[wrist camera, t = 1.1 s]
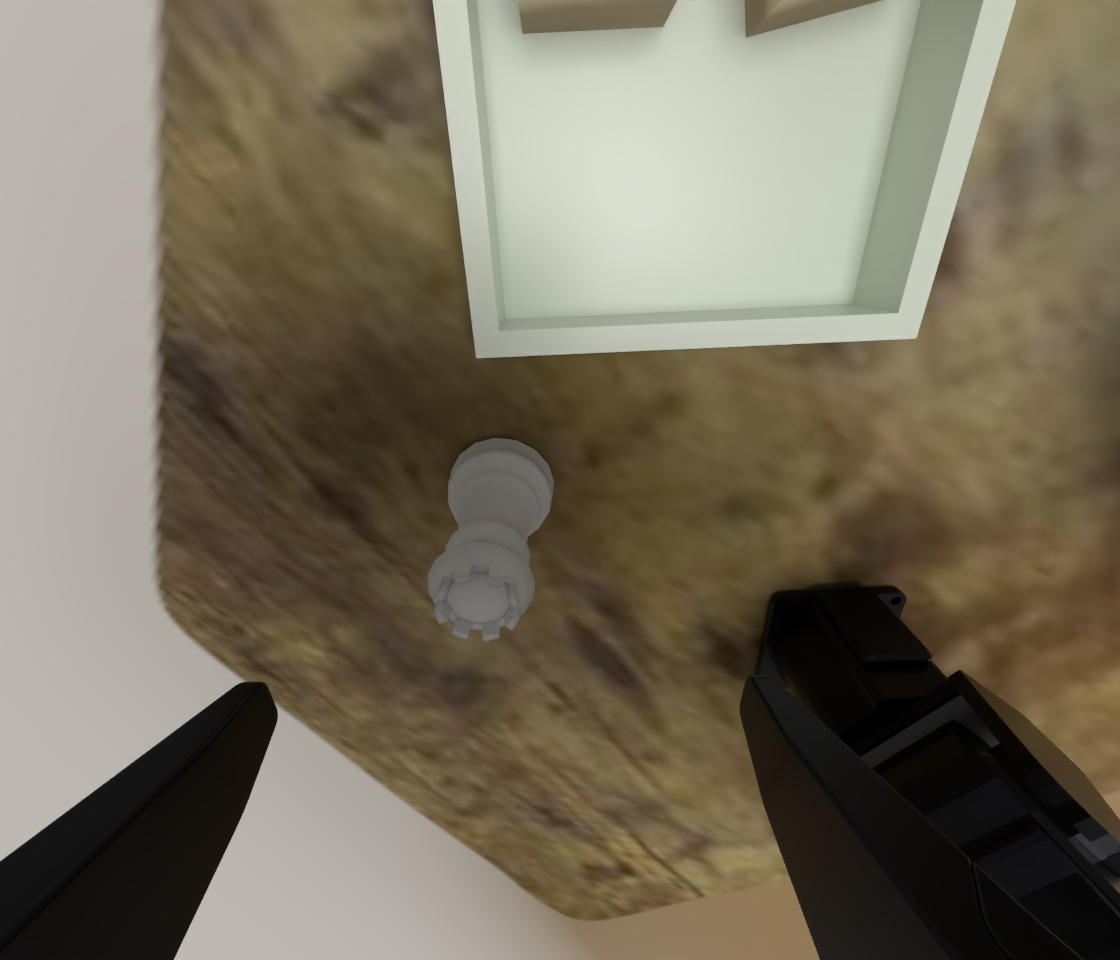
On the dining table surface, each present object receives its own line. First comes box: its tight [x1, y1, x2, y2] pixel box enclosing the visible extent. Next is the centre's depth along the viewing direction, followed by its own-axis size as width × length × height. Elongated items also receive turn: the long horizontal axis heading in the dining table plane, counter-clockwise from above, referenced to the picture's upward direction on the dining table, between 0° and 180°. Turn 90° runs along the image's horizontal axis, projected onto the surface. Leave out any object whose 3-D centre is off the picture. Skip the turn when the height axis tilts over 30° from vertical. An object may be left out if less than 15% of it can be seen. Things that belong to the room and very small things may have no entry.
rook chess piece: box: [428, 438, 554, 642], centre depth 17 cm, size 4×4×8 cm
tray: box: [433, 0, 1016, 358], centre depth 13 cm, size 14×14×3 cm
